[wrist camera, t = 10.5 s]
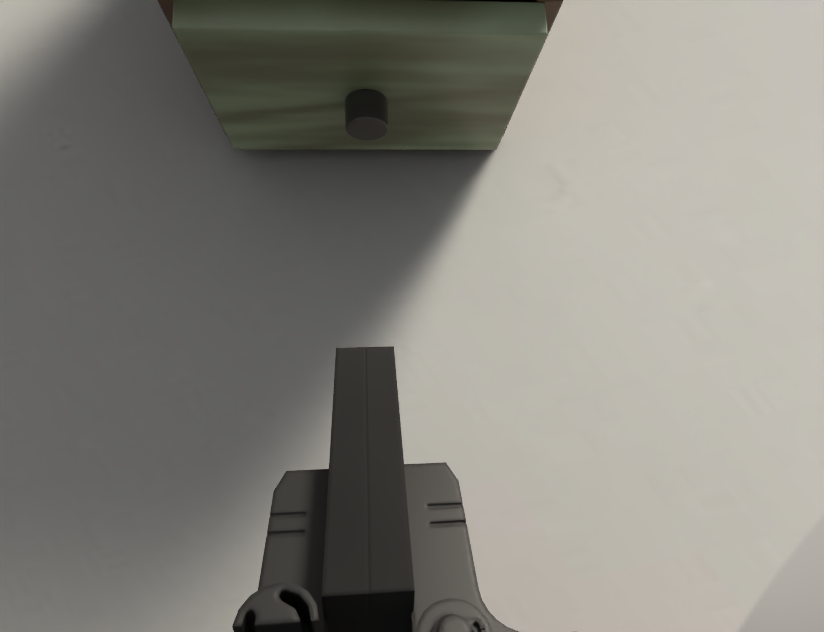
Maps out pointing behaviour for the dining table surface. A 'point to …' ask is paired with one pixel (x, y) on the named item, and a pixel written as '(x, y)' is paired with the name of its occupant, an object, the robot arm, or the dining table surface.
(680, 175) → the dining table surface
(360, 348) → the robot arm
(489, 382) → the dining table surface
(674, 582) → the dining table surface
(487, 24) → the top drawer
